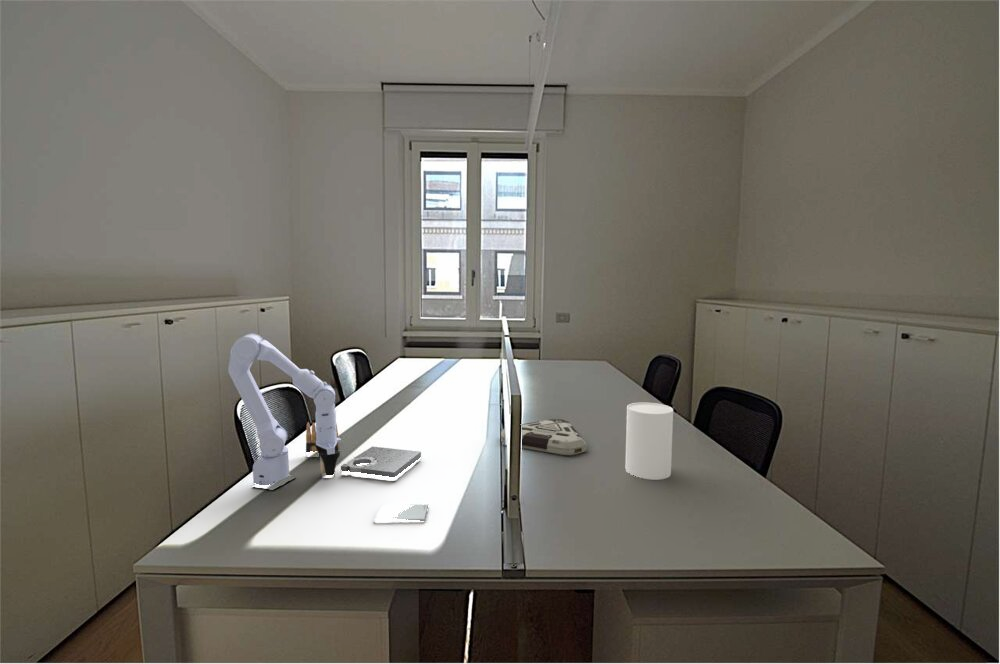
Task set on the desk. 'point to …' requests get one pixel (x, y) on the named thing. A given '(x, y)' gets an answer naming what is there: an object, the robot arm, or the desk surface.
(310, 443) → the ammunition clip
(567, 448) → the device
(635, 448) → the canister
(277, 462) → the robot arm
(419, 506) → the hard drive
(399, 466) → the grey plate with hole
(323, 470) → the cylinder
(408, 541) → the desk surface
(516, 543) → the desk surface
